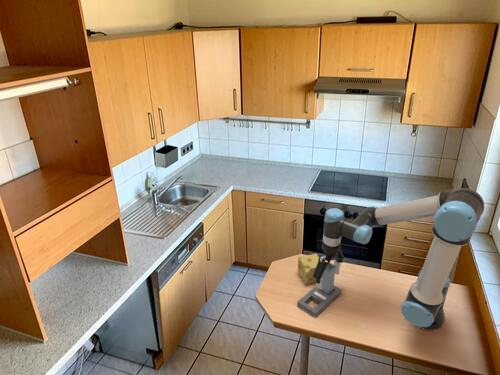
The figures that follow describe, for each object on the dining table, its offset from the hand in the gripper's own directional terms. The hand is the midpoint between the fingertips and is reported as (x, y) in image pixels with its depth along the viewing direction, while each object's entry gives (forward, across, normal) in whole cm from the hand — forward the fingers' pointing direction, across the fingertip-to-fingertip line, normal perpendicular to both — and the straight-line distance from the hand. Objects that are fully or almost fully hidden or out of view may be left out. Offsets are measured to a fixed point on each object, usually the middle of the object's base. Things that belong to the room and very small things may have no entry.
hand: (327, 280), depth 172 cm
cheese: (+8, -4, -12) cm, 16 cm away
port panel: (+8, +6, 0) cm, 10 cm away
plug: (+8, 0, 0) cm, 8 cm away
